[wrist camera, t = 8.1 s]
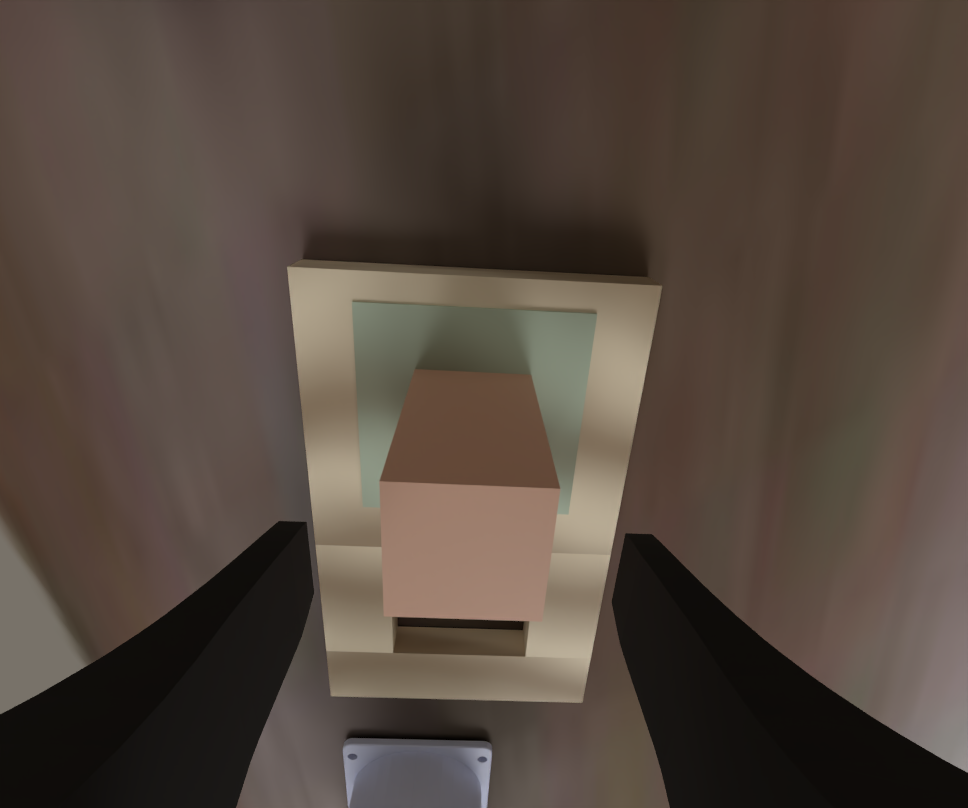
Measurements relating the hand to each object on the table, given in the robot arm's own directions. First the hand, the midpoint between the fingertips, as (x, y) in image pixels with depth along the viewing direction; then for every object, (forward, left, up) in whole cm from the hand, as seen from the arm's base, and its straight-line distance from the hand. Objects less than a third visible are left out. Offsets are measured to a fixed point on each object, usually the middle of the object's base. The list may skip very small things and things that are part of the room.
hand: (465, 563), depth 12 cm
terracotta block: (0, 0, -7) cm, 7 cm away
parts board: (-5, 0, -9) cm, 10 cm away
